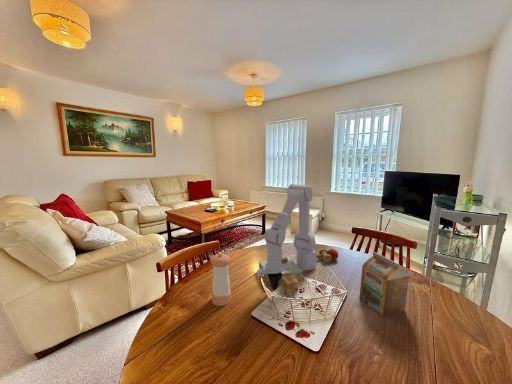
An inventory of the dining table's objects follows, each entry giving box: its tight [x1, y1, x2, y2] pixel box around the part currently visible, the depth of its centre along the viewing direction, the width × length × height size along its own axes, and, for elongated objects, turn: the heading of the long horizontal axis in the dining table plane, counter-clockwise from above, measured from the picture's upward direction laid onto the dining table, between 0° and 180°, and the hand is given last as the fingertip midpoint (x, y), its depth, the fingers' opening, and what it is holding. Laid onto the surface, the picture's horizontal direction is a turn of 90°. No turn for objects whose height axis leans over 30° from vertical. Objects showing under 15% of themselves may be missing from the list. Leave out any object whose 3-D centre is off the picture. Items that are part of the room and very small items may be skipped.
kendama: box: [316, 248, 339, 263], centre depth 116 cm, size 8×6×18 cm
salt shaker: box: [210, 252, 232, 307], centre depth 81 cm, size 7×7×19 cm
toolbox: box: [258, 263, 303, 287], centre depth 100 cm, size 16×14×4 cm
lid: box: [258, 256, 303, 276], centre depth 100 cm, size 16×14×3 cm
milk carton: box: [359, 252, 410, 318], centre depth 79 cm, size 11×11×19 cm
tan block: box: [280, 275, 299, 294], centre depth 90 cm, size 5×6×4 cm
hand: (273, 288), depth 87 cm, fingers closed
